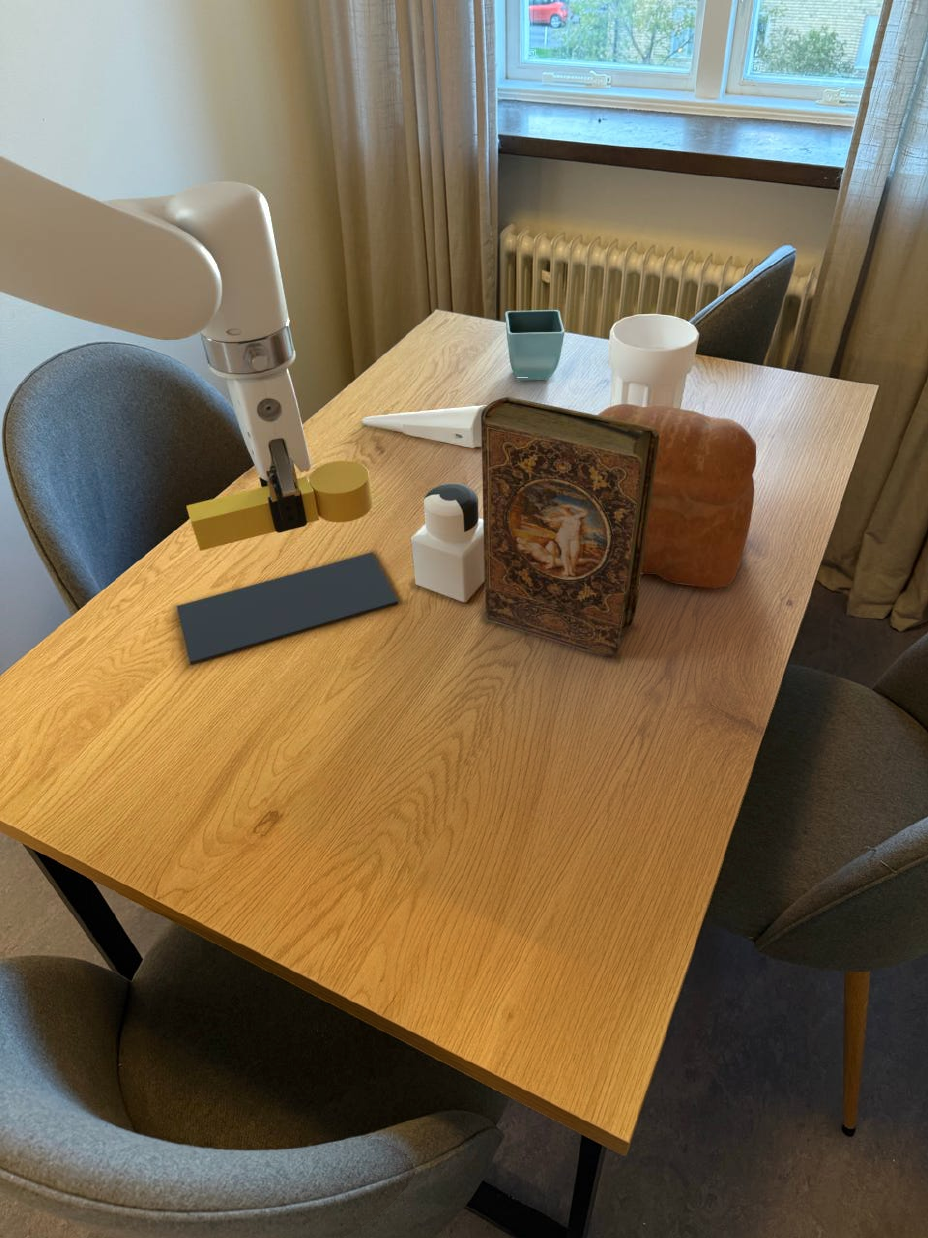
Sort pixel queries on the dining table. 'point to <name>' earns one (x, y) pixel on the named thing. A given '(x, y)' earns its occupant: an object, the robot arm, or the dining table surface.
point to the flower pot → (534, 343)
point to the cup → (651, 360)
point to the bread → (696, 494)
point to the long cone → (436, 424)
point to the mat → (283, 607)
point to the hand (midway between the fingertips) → (286, 516)
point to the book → (564, 520)
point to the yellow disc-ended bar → (247, 514)
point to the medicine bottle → (450, 543)
